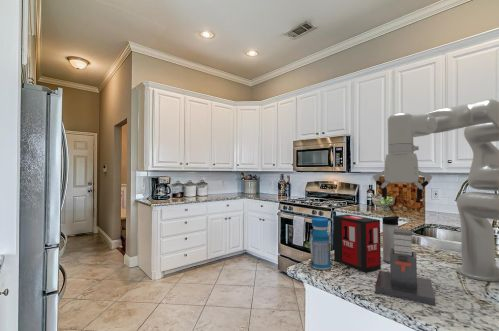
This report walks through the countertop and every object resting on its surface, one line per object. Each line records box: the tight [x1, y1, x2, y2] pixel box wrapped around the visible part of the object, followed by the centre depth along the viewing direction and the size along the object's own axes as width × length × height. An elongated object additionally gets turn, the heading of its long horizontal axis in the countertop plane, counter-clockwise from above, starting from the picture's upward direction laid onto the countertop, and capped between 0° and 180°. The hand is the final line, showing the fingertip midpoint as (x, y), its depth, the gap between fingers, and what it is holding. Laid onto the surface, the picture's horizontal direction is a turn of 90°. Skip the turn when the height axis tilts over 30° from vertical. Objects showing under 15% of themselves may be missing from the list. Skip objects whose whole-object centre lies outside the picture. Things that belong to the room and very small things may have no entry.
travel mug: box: [381, 215, 400, 265], centre depth 113 cm, size 6×7×20 cm
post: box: [393, 228, 413, 257], centre depth 87 cm, size 5×5×17 cm
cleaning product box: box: [333, 213, 382, 274], centre depth 110 cm, size 16×9×20 cm, turn 27°
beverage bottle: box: [309, 217, 332, 271], centre depth 108 cm, size 8×8×20 cm
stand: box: [374, 249, 436, 306], centre depth 86 cm, size 16×16×12 cm
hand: (401, 200), depth 87 cm, fingers open, 9 cm apart
